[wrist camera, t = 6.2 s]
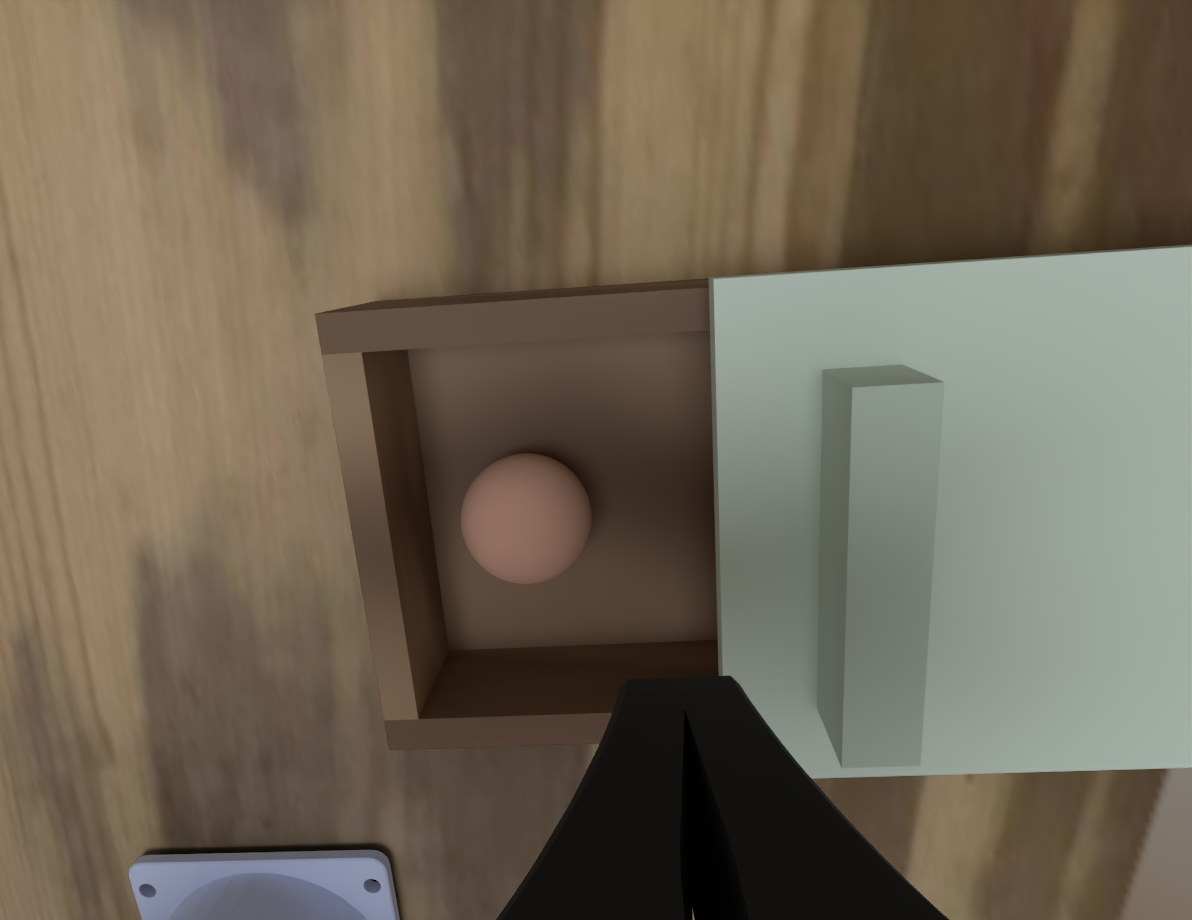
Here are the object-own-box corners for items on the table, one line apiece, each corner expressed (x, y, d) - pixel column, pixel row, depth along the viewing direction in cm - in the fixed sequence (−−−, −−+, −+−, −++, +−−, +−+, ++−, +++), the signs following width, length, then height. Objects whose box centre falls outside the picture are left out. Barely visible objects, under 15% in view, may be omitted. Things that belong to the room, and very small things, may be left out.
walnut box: (865, 648, 20) (916, 732, 16) (429, 665, 21) (389, 749, 17) (880, 267, 17) (944, 271, 14) (375, 301, 18) (314, 313, 14)
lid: (1295, 738, 16) (1422, 831, 13) (720, 755, 16) (737, 847, 14) (1409, 229, 13) (1597, 225, 10) (708, 277, 14) (726, 283, 11)
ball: (598, 549, 19) (593, 604, 16) (481, 555, 19) (456, 610, 16) (590, 435, 18) (582, 471, 15) (468, 442, 18) (438, 479, 15)
